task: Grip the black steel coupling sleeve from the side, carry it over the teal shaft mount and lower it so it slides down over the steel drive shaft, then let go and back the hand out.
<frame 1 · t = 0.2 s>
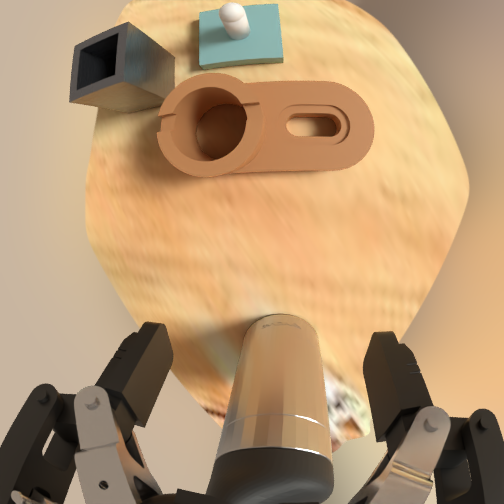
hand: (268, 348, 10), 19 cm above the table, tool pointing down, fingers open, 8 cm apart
shaft mount: (241, 37, 21), on the table
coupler: (150, 84, 23), on the table
bracket: (275, 128, 24), on the table
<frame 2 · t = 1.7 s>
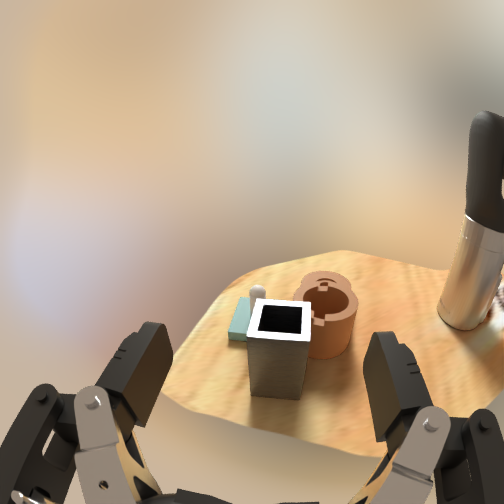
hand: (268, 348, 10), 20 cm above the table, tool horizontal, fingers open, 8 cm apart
shaft mount: (258, 322, 39), on the table
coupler: (278, 379, 30), on the table
bracket: (322, 317, 40), on the table
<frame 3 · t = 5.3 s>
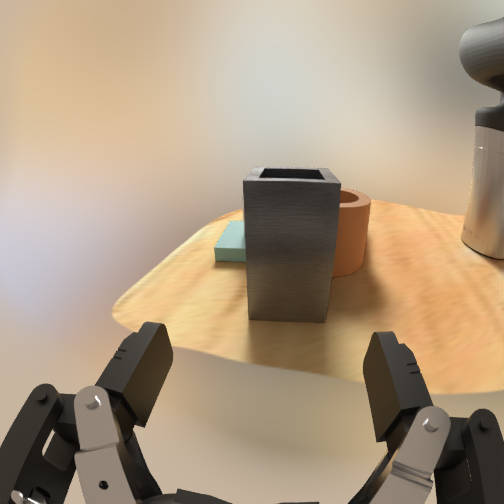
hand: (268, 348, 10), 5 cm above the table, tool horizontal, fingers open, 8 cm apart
shaft mount: (254, 245, 31), on the table
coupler: (287, 298, 22), on the table
bracket: (328, 242, 33), on the table
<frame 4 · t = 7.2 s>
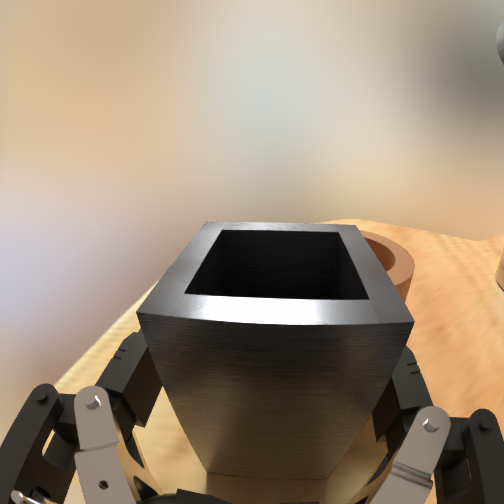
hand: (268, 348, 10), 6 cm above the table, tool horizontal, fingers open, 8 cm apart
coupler: (271, 432, 12), on the table
bracket: (338, 303, 22), on the table
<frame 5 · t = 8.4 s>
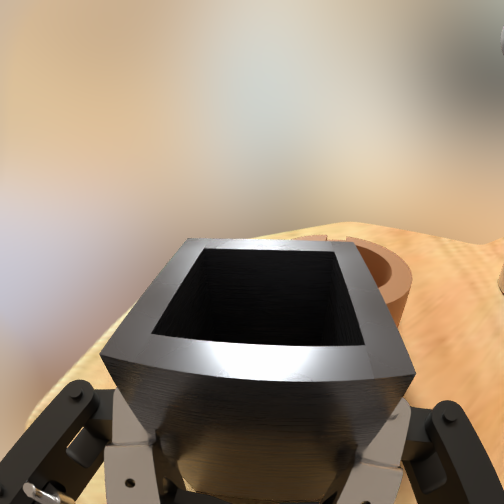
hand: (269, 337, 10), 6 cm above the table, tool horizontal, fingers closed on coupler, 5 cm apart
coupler: (262, 451, 11), on the table, touching gripper
bracket: (334, 313, 21), on the table
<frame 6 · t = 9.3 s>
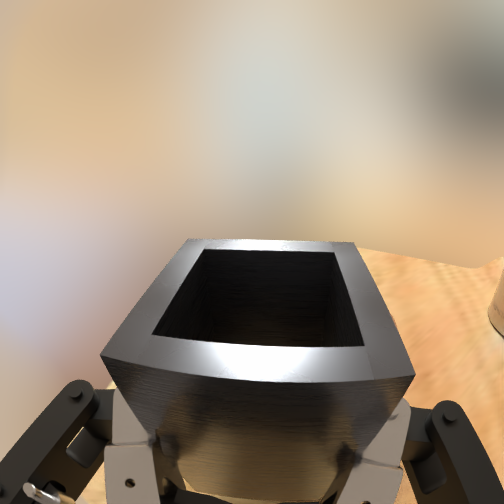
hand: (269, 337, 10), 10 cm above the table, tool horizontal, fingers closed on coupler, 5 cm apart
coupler: (262, 452, 11), point 4 cm above the table, touching gripper
when the fingers open (10 cm above the table, at t = 14.8 s): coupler drops 2 cm, resting on shaft mount.
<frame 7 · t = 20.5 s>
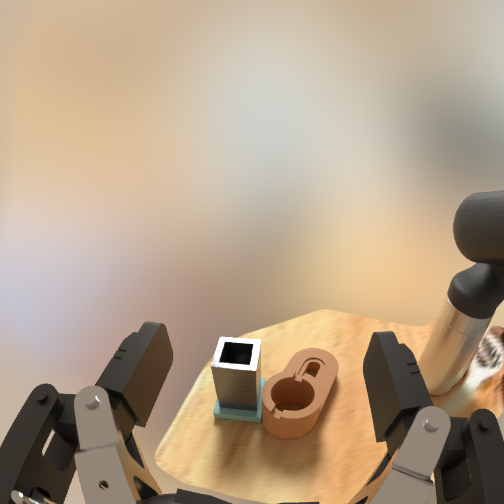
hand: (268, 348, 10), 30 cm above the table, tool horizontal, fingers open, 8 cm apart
shaft mount: (241, 400, 38), on the table
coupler: (240, 395, 38), point 1 cm above the table, touching shaft mount
bracket: (301, 395, 39), on the table
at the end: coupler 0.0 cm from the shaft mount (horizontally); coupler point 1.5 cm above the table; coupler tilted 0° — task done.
